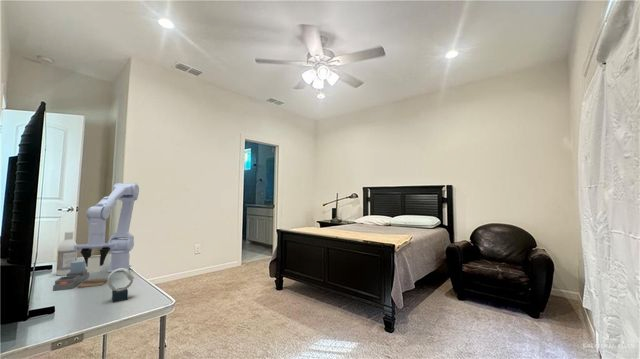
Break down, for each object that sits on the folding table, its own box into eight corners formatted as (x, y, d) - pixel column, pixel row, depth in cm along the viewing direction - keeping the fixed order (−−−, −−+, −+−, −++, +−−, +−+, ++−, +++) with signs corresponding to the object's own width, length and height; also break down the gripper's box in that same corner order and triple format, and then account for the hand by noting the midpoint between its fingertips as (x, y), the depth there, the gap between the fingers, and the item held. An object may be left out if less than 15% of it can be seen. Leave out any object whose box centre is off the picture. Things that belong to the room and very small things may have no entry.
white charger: (90, 270, 116) (91, 256, 116) (102, 269, 117) (102, 255, 118) (87, 272, 112) (87, 258, 112) (98, 271, 114) (99, 257, 114)
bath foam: (59, 272, 128) (62, 231, 129) (78, 271, 131) (80, 230, 132) (53, 276, 122) (56, 233, 123) (73, 274, 125) (76, 232, 126)
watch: (133, 298, 99) (135, 268, 100) (106, 303, 94) (108, 272, 94) (132, 293, 103) (133, 265, 104) (105, 299, 98) (107, 268, 99)
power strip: (78, 273, 127) (78, 266, 127) (93, 272, 129) (94, 265, 129) (52, 290, 105) (53, 281, 105) (72, 288, 107) (73, 280, 108)
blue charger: (73, 274, 120) (74, 260, 120) (85, 273, 122) (85, 259, 122) (69, 276, 116) (70, 262, 117) (81, 275, 118) (82, 261, 118)
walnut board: (86, 281, 117) (86, 279, 117) (108, 279, 120) (108, 277, 120) (77, 287, 109) (77, 286, 109) (102, 285, 112) (102, 284, 112)
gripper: (71, 236, 109) (69, 269, 108) (114, 234, 115) (112, 266, 114) (78, 233, 115) (76, 265, 114) (119, 232, 121) (117, 262, 120)
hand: (95, 265), depth 115 cm, fingers closed on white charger, 4 cm apart
